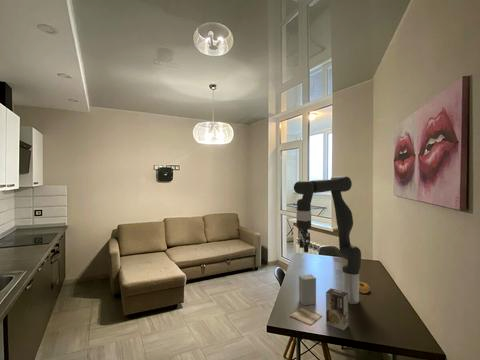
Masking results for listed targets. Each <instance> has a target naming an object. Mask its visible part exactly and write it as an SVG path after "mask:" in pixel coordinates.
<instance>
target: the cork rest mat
mask: <svg viewBox="0 0 480 360" xmlns="http://www.w3.org/2000/svg"><path fill="white" fill-rule="evenodd" d="M322 316H323V315H322V314H320V313H317V312H315V311H313V310H310V309H308V308H305V307H300V308H298V309H297V310H295V311H294V312H293V313H291V314H289V317H290V318H293V319H295V320H297V321H300V322H302V323H303V324H307V325H309V326H312V325H313V324H315V323H316V322H317V321H318V320H319V319H321V318H322Z"/></svg>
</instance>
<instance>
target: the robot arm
mask: <svg viewBox="0 0 480 360" xmlns="http://www.w3.org/2000/svg"><path fill="white" fill-rule="evenodd" d="M352 183H353V182H352V179H351V178H350V177H349V176H346V175H338V176H337V175H336V176H332V177H331V178H330V179H314V180H299V181H297V182H295V183H294V185H293V191H294V192H295V193H296V194H298V195H302V198H299V199H297V201H296V225H295V226H296V228H297V232H298V233H297V239H298V241H299V248H300V249H303V252H304V253H309V246H310V245H311V233H310V232H309V231H308V230H310V229H312V210H311V209H312V208H311V205H312V199H313V197H314V194H317V193H318V194H319V193H326V192H331V193H330V194H331V196H332V201H333V205H334V212H335V213H334V214H335V219H336V225H337V232H338V246H339V247H338V249H339V254H340V256H341V258H342V259H345V260H347V263H346V264H345V265H343V266H342V272H341V273H342V280H341V281H342V283H341V284H342V285H341V286H342V292H346V293H348V304H350V305H357V304H359V303H360V292H359V282H360V270H361V266H362V265H361V263H362V252H361V249H360V248H359V247H358V246H356V245H353V244H351V238H350V235H351V231H352V229H353V228H354V227H353V226H354V218H353V213H352V211H351V208H350V207H349V206H348V204H347V203H346V202H345V199H344V198H343V195H342V193H344V192H348V191H349V190H351V188H352V186H353V185H352Z"/></svg>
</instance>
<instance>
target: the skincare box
mask: <svg viewBox="0 0 480 360" xmlns="http://www.w3.org/2000/svg"><path fill="white" fill-rule="evenodd" d="M298 298H299V299H298V301H299V303H301V305H302V306H303V307H304V306H311V305H316V304H317V277H315V276H314V274H311V273H309V274H308V273H307V274H299V275H298Z"/></svg>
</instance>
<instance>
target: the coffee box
mask: <svg viewBox="0 0 480 360" xmlns="http://www.w3.org/2000/svg"><path fill="white" fill-rule="evenodd" d="M325 312H326V313H325V319H326V320H325V324H326V325H328V326H331V327H334V328H336V329H340V330H342V331H345V330H346V329H347V327H349V303H348V293H346V292H342V291H341V290H338V289H335V288H329V289H328V290H327V291H326V292H325Z"/></svg>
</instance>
